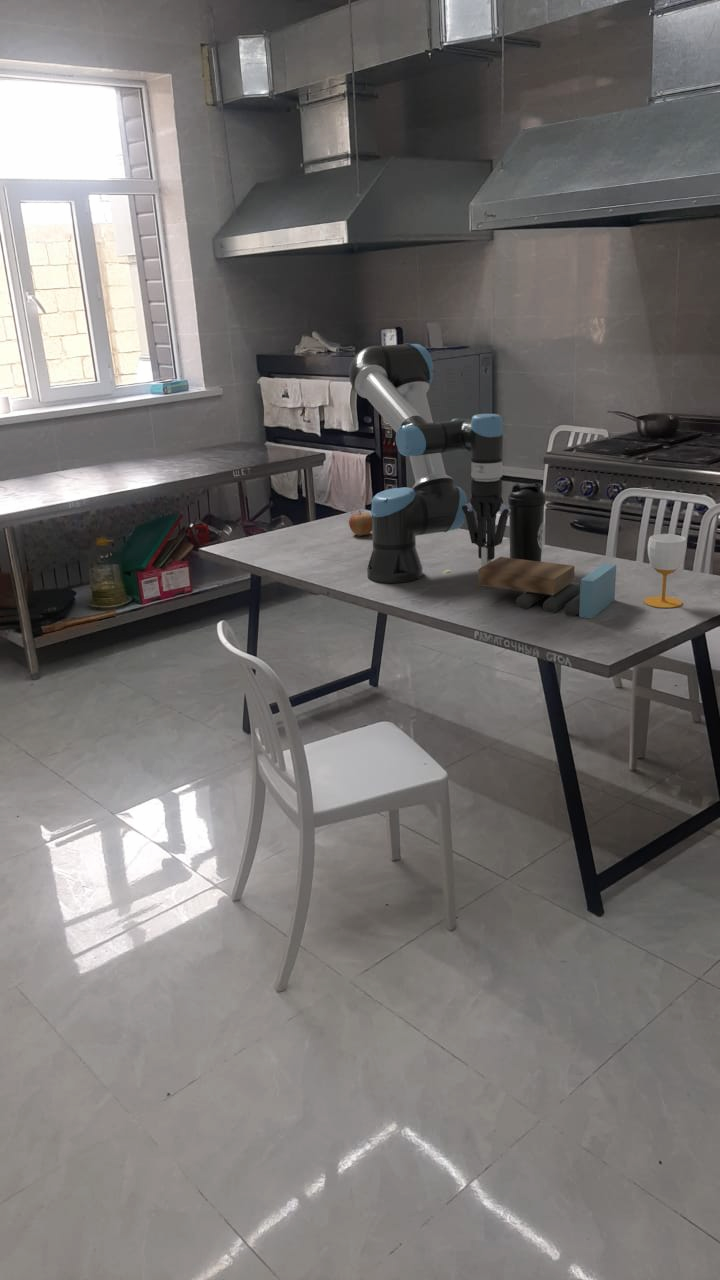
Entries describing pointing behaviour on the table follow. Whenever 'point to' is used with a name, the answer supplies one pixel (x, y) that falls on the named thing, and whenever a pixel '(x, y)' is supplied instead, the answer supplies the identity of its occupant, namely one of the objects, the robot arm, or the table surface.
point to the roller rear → (529, 599)
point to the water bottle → (526, 521)
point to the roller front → (573, 606)
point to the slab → (526, 575)
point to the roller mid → (561, 597)
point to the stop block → (597, 590)
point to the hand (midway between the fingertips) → (486, 571)
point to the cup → (665, 564)
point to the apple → (361, 524)
